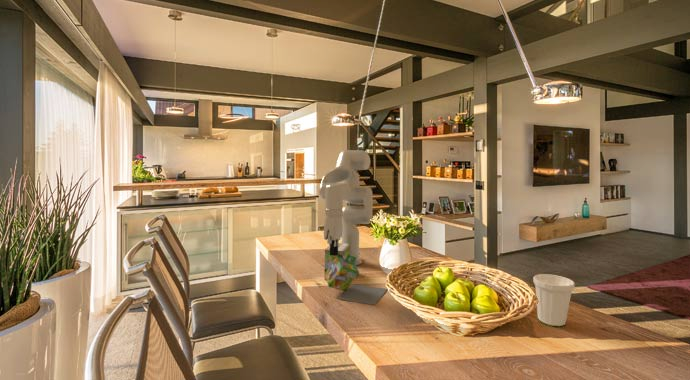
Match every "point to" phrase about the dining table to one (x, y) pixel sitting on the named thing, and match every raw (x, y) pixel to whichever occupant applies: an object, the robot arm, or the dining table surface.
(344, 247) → the tea box
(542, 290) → the cup
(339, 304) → the dining table surface
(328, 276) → the chalk box
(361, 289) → the mat
